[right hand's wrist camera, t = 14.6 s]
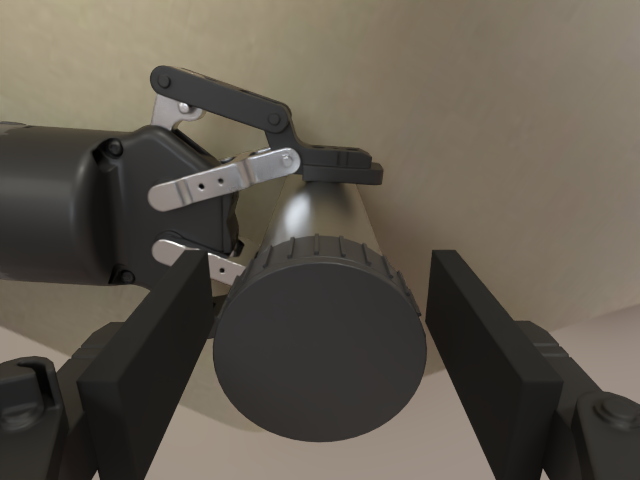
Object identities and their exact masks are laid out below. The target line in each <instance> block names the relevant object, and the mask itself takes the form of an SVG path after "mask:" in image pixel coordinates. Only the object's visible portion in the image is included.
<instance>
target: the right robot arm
mask: <svg viewBox="0 0 640 480" xmlns="http://www.w3.org/2000/svg"><path fill="white" fill-rule="evenodd" d="M214 322H215V319H214V309H213V299H212V289H211V279H210V269H209V259H208V250H184V251H183V253H182V254H181V255H180V256H179V258H178V259H177V260H176V261H175V262H174V264H173V265H172V266H171V267H170V268H169V270H168V271H167V272H166V273H165V274H164V276H163V277H162V278H161V279H160V280H159V282H158V283H157V284H156V285H155V286H154V288H153V289H152V290H151V291H150V292H149V294H148V295H147V296H146V297H145V298H144V300H143V301H142V302H141V303H140V305H139V306H138V307H137V308H136V309H135V311H134V312H133V313H132V314H131V315H130V317H129V318H128V319H127V320H126V321H125V322H110V323H109V324H107V325H105V326H104V327H102V328H100V329H99V330H97V331H95V332H94V333H92V335H91V336H90V337H89V338H88V339H87V340H86V341H85V342H84V343H83V344H82V345H81V348H79V349H78V350H77V351H76V352H75V353H74V354H73V355H72V358H71V359H69V360H68V361H67V362H66V363H65V364H64V365H63V366H62V367H61V368H60V369H59V370H58V371H57V373H56V371H55V367H54V364H53V362H52V361H50V360H49V359H48V358H45V357H38V356H32V357H22V358H17V359H14V360H10V361H6V362H3V363H1V364H0V480H92V478H93V476H94V475H95V473H96V471H97V470H98V473H99V477H100V480H144V478H145V476H146V474H147V472H148V470H149V467H150V465H151V463H152V461H153V458H154V456H155V454H156V452H157V450H158V447H159V445H160V443H161V441H162V438H163V436H164V434H165V432H166V429H167V427H168V425H169V423H170V421H171V418H172V416H173V414H174V412H175V409H176V407H177V405H178V403H179V400H180V398H181V396H182V394H183V392H184V389H185V387H186V385H187V383H188V380H189V378H190V376H191V374H192V371H193V369H194V367H195V365H196V362H197V360H198V358H199V356H200V354H201V351H202V349H203V347H204V345H205V342H206V340H207V338H208V336H209V333H210V331H211V329H212V327H213V325H214ZM425 322H426V325H427V327H428V329H429V331H430V333H431V336H432V338H433V340H434V342H435V345H436V347H437V349H438V351H439V354H440V356H441V358H442V360H443V363H444V365H445V367H446V369H447V371H448V374H449V376H450V378H451V380H452V383H453V385H454V387H455V389H456V392H457V394H458V396H459V398H460V400H461V403H462V405H463V407H464V409H465V412H466V414H467V416H468V418H469V420H470V423H471V425H472V427H473V429H474V432H475V434H476V436H477V438H478V440H479V443H480V445H481V447H482V450H483V452H484V454H485V456H486V458H487V461H488V463H489V465H490V467H491V470H492V472H493V474H494V476H495V479H496V480H540V477H541V473H542V469H544V471H545V472H546V474H547V476H548V478H549V479H550V480H640V404H638V403H636V402H634V401H632V400H630V399H628V398H626V397H623V396H620V395H617V394H614V393H610V392H604V391H602V390H601V389H600V388H599V387H598V386H597V384H596V383H595V382H594V381H593V380H592V379H591V378H590V377H589V376H588V375H587V374H586V373H585V372H584V371H583V369H582V368H581V367H580V366H579V365H578V364H577V363H576V362H575V361H574V360H573V359H572V358H571V357H569V355H568V353H567V352H566V351H565V350H564V349H563V348H562V347H559V344H558V343H557V341H556V340H555V339H554V338H553V337H552V336H551V335H550V334H549V333H548V332H547V331H546V330H544V329H542V328H541V327H539V326H537V325H536V324H534V323H532V322H531V321H514V320H513V319H512V318H511V317H510V315H509V314H508V313H507V312H506V311H505V309H504V308H503V307H502V306H501V305H500V303H499V302H498V301H497V300H496V299H495V297H494V296H493V295H492V294H491V292H490V291H489V290H488V289H487V288H486V286H485V285H484V284H483V283H482V282H481V280H480V279H479V278H478V277H477V276H476V274H475V273H474V272H473V271H472V270H471V268H470V267H469V266H468V265H467V264H466V262H465V261H464V260H463V259H462V258H461V256H460V255H459V254H458V253H457V251H456V250H432V258H431V269H430V279H429V289H428V299H427V309H426V319H425Z"/></svg>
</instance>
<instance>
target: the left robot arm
mask: <svg viewBox="0 0 640 480" xmlns="http://www.w3.org/2000/svg"><path fill="white" fill-rule="evenodd" d="M150 83H151V86H152V88H153V89H154V91H155V92H156V93H157V94H156V99H155V105H154V110H153V115H152V120H151V125H147V126H144V127H141V128H140V129H138V130H136V131H134V132H118V131H103V130H88V129H73V128H59V127H44V126H29V125H26V124H22V123H16V122H5V121H2V122H0V280H13V281H29V282H46V283H63V284H80V285H97V286H115V285H127V284H134V285H138V286H141V287H144V288H146V289H148V290H150V291H151V290H152V289H153V288H154V286H155V285H156V284H157V283H158V282H159V280H160V279H161V278H162V277H163V276H164V274H165V273H166V272H167V271H168V270H169V268H170V267H171V266H172V265H173V264H174V262H175V261H176V260H177V259H178V258H179V256H180V255H181V254H182V253H183V251H184V250H208V259H209V269H210V278H211V279H214V280H217V281H219V282H222V283H225V284H227V285H230V286H232V284H233V282H234V280H235V277H236V276H237V275H238V276H240V275H241V274H242V272H243V271H244V269H245V268H246V267H247V265H248V263H249V260H250V259H251V258H252V259H253V260H254V259H255V258H257V255H258V253H259V250H260V246H259V244H257V243H256V242H254V241H252V240H249V239H247V238H244V237H241V236H239V226H238V222H237V218H236V215H235V208H236V204H237V200H238V197H239V190H242V189H245V188H248V187H251V186H252V185H254V184H257V183H261V182H264V181H268V180H272V179H275V178H279V177H283V176H286V175H290V174H298V175H302V181H318V182H320V181H322V182H333V183H349V184H364V185H381V184H382V178H383V168H382V166H381V165H380V164H378V163H374V162H371V161H372V157H371V156H370V154H369V153H368V152H366V151H364V150H362V149H360V148H351V147H336V146H321V145H308V144H305V143H303V142H302V141H301V140H300V139H299V138H298V136H297V134H296V132H295V128H294V125H293V122H292V118H291V117H292V114H291V110H290V108H289V107H288V106H287V105H286V104H284V103H281V102H279V101H276V100H273V99H270V98H267V97H264V96H261V95H259V94H256V93H253V92H250V91H247V90H244V89H241V88H239V87H236V86H233V85H230V84H227V83H224V82H221V81H219V80H216V79H213V78H210V77H207V76H204V75H201V74H199V73H196V72H193V71H190V70H187V69H184V68H178V67H171V66H158V67H156V68H155V69H154V70H153V71H152V73H151V76H150ZM207 111H208V112H211V113H214V114H217V115H220V116H223V117H226V118H229V119H232V120H235V121H238V122H241V123H244V124H246V125H249V126H252V127H255V128H258V129H261V130H264V131H265V134H266V137H267V140H268V143H269V147H265V148H262V149H258V150H252V151H247V152H244V153H240V154H237V155H233V156H229V157H226V158H222V159H219V160H217V159H216V158H214V157H213V156H212V155H211V154H209V153H208V152H207V151H205V150H204V149H203V148H202V147H200V146H199V145H198V144H196V143H195V142H194V141H193V140H191V139H190V138H189V137H187V136H186V135H185V134H184V133H182V132H181V131H180V130H178V129H177V127H178V125H179V123H180V122H181V121H183V120H185V121H195V120H198V119H201V118H203V117H204V116H205V114H206V112H207ZM227 295H228V294H227ZM227 295H222V296H216V297H212V299H213V309H214V319H215V322H214V325H213V327H212V329H211V331H210V333H209V336H208V338H207V339H211V338H214V335H215V332H216V329H217V325H218V322H219V321H217V317H218V315H219V313H220V311H221V308H222V306H223V304H224V301H225V299H226V297H227Z"/></svg>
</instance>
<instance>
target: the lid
mask: <svg viewBox="0 0 640 480" xmlns="http://www.w3.org/2000/svg"><path fill="white" fill-rule="evenodd" d="M419 316H421V313H420V310H419V308H418V306H417V304H416V301H415V299H414V297H413V295H412V292H411V290H410V289H409V290H408V287H407V285H406V283H405V280H404V278H403V276H402V274H401V272H400V271H398V272H397V271H396V270H395V269H394V268H393V267H392V266H391V264H390V263H389V262H388V260H387V258H386V256H385V255H382V256H381V255H379V254H378V253H376V252H375V251H373V250H372V249H370V248H368V247H367V244H365V243H362V244H360V243H357V242H354V241H351V240H348V239H345V238H344V236H341V235H340V236H339V237H335V236H322V235H320V236H319V233H316V234H315V236H306V237H300V238H294V237H291V238H290V240H288V241H285V242H282V243H280V244H278V245H276V246H273V247H272V245H270V246H268V249H267V250H266V251H265V252H263V253H262V254H260V255H259V256H258V257H257V258H255V259H254V260H253V259H252V258H251V259H250V260H249V263H248V265H247V267H246V268H245V269H244V271H243V272H242V274H241V275H240V276H238V275H237V276H236V277H235V280H234V282H233V284H232V286H231V289H230V291H229V293H228V295H227V297H226V299H225V301H224V304H223V306H222V308H221V311H220V313H219V315H218V317H217V321H219V322H218V325H217V329H216V332H215V335H214V342H213V361H214V367H215V372H216V375H217V378H218V381H219V383H220V385H221V387H222V389H223V391H224V393H225V394H226V396H227V397H228V399H229V400H230V402H231V403H232V404H233V405H234V406H235V407H236V408H237V410H238V411H239V412H241V413H242V414H243V415H244V416H245V417H246V418H248V419H249V420H250V421H252V422H253V423H255V424H256V425H258V426H260V427H261V428H263V429H265V430H267V431H269V432H272V433H274V434H277V435H279V436H282V437H286V438H290V439H294V440H300V441H307V442H333V441H340V440H345V439H349V438H354V437H357V436H360V435H363V434H365V433H368V432H370V431H372V430H374V429H376V428H378V427H380V426H382V425H383V424H385V423H386V422H388V421H389V420H391V419H392V418H393V417H394V416H395V415H397V414H398V413H399V412H400V411H401V410H402V409H403V408H404V407H405V406H406V405H407V404H408V402H409V401H410V399H411V398H412V397H413V395H414V394H415V392H416V390H417V388H418V386H419V384H420V382H421V379H422V376H423V374H424V370H425V364H426V355H427V346H426V334H425V332H424V329H423V326H422V324H421V321H420V319H419Z"/></svg>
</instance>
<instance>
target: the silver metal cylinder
mask: <svg viewBox="0 0 640 480" xmlns="http://www.w3.org/2000/svg"><path fill="white" fill-rule="evenodd" d="M316 233H319V236H320V235H322V236H335V237H339V236H340V235H341V236H344V238H345V239H348V240H351V241H354V242H357V243H360V244H362V243H365V244H367V247H368V248H370V249H372V250H373V251H375V252H376V253H378V254H379V255H381V256H382V254H381V251H380V248H379V245H378V243H377V240H376V237H375V235H374V232H373V229H372V227H371V224H370V221H369V218H368V216H367V213H366V210H365V208H364V205H363V202H362V200H361V197H360V194H359V191H358V189H357V186H356V184H349V183H333V182H322V181H320V182H318V181H302V175H298V174H290V175H287V177H286V179H285V182H284V185H283V187H282V190H281V193H280V196H279V198H278V201H277V204H276V206H275V209H274V212H273V215H272V217H271V220H270V223H269V225H268V228H267V231H266V234H265V236H264V239H263V242H262V244H261V247H260V250H259V253H258V255H257V257H258V256H259V255H260V254H262V253H263V252H265V251H266V250H267V249H268V246H270V245H272V247H273V246H276V245H278V244H280V243H282V242H285V241H288V240H290V238H291V237H294V238H300V237H306V236H315V234H316Z"/></svg>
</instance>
